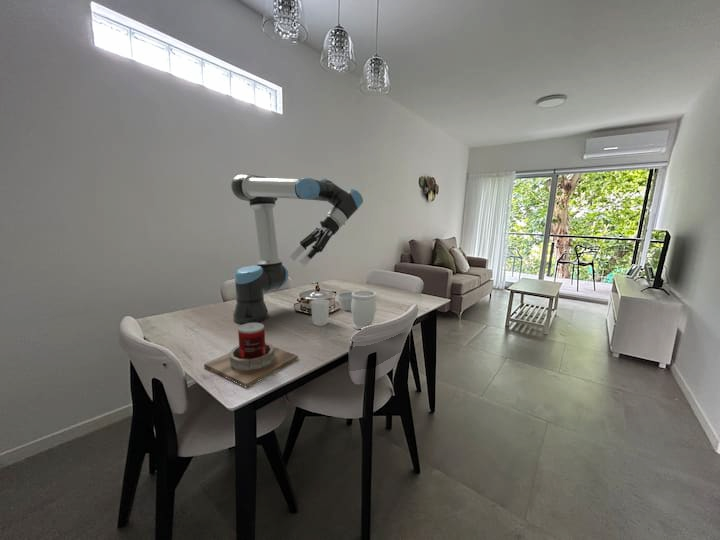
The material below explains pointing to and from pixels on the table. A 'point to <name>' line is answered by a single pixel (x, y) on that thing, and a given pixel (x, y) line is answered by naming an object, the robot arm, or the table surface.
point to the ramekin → (345, 301)
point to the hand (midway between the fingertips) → (296, 261)
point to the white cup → (320, 311)
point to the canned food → (251, 340)
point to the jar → (363, 308)
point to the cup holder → (250, 365)
